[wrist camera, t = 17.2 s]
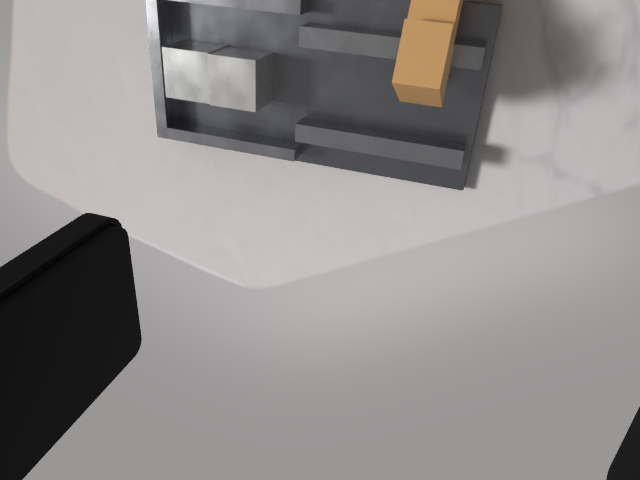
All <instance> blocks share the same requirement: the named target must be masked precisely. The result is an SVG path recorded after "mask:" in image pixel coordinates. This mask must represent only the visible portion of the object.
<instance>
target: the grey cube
mask: <svg viewBox="0 0 640 480" xmlns="http://www.w3.org/2000/svg"><path fill="white" fill-rule="evenodd" d="M208 74H209V97H210V105H212V106H219V107H225V108H231V109H238V110H244V111H250V112H257V111H258V110H260V109H261V108H263V107H264V106H266V105H267V104H269V103H270V102H272V78H273V52H268V51H260V50H252V49H244V48H237V47H229V46H227V47H225V48H222V49H220V50H217V51H214V52H212V53H209V54H208Z"/></svg>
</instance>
